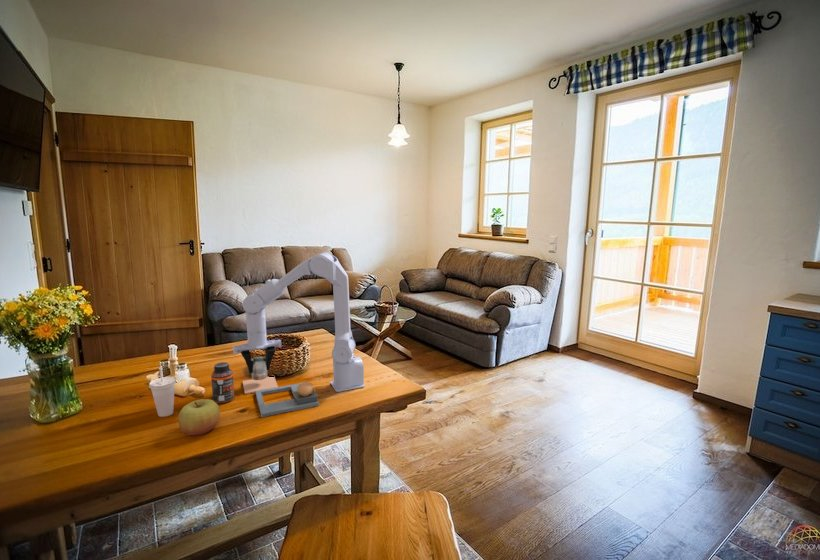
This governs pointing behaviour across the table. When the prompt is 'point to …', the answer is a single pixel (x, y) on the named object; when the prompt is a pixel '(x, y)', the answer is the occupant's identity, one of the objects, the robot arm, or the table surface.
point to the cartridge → (259, 368)
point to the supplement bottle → (222, 383)
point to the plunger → (305, 389)
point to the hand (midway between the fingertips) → (259, 370)
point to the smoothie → (163, 394)
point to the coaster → (259, 385)
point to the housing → (286, 405)
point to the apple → (199, 417)
